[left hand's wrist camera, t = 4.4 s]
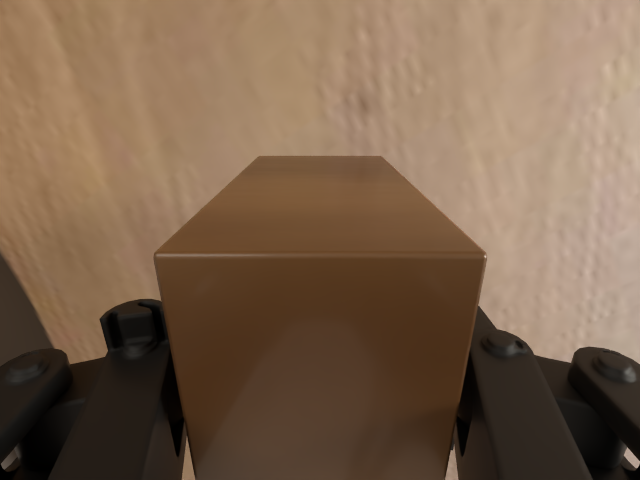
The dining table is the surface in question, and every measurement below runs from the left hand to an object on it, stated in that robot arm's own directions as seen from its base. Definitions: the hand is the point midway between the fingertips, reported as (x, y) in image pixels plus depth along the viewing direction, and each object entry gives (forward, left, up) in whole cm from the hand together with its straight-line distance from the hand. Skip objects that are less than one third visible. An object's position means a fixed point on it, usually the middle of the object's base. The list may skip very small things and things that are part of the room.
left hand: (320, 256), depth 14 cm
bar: (+8, 0, -1) cm, 8 cm away
